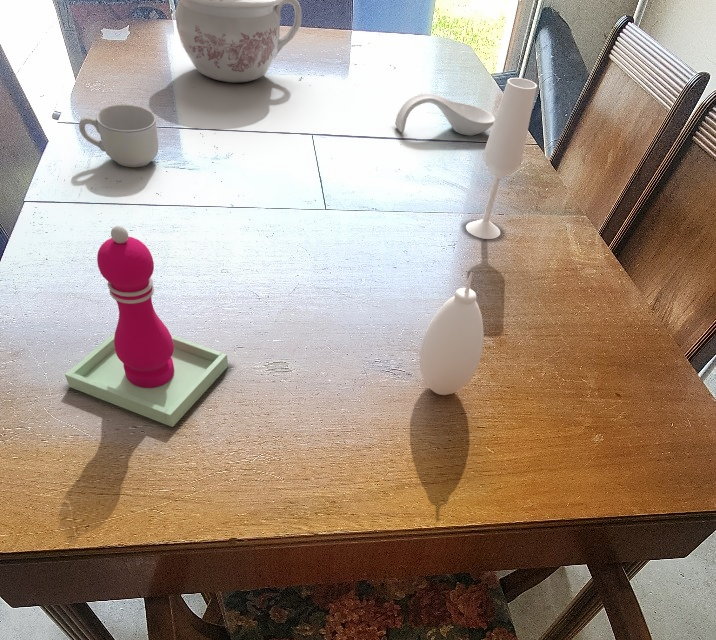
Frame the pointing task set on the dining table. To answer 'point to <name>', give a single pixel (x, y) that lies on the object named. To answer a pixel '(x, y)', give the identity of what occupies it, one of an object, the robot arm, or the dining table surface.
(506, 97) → the champagne flute
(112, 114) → the teacup
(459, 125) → the spoon rest
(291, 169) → the dining table surface
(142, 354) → the pepper mill
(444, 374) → the sauce bottle
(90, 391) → the tray
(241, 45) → the chamber pot
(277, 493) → the dining table surface
